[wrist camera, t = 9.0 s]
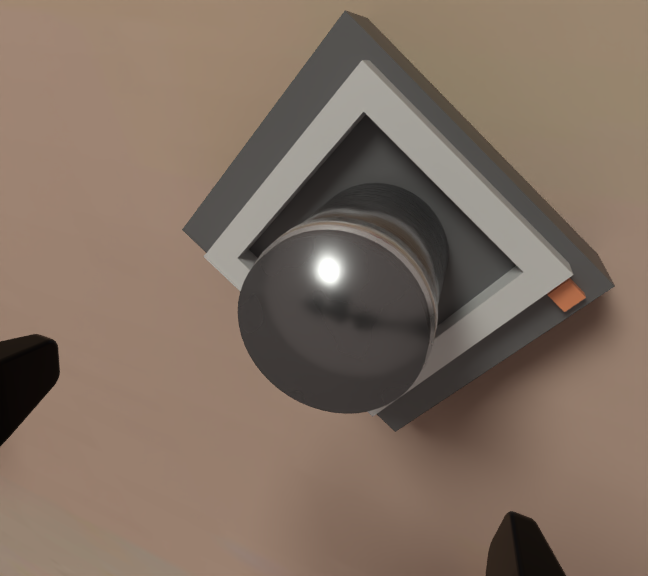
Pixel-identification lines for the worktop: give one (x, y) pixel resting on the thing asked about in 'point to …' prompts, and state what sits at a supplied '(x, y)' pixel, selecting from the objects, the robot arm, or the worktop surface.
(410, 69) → the grey recessed tray
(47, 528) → the worktop surface
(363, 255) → the metal can
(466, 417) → the worktop surface
